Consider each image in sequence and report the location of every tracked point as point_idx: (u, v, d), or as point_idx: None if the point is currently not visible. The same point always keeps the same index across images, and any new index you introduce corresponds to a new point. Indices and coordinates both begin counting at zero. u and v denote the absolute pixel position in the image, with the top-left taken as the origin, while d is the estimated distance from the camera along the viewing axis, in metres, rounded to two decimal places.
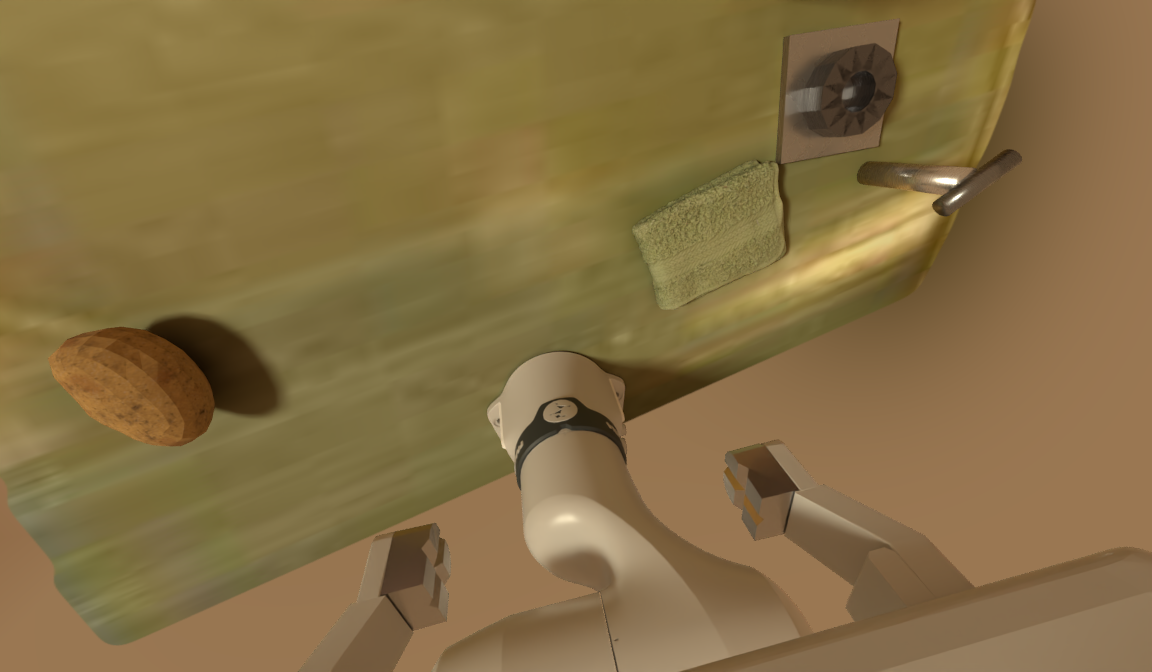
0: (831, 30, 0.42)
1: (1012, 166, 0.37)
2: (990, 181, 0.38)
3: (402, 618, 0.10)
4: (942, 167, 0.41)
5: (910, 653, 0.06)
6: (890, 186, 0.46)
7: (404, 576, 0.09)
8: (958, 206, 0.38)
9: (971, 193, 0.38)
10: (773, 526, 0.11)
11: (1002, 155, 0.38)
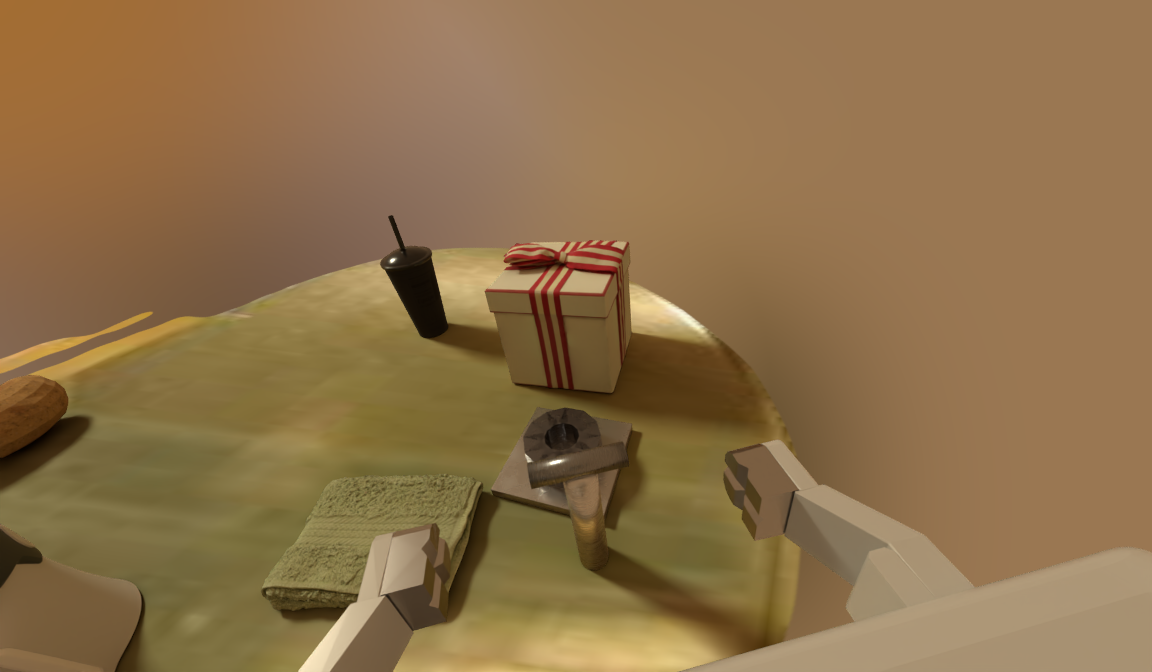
0: None
1: (612, 449, 0.29)
2: (583, 455, 0.29)
3: (402, 618, 0.10)
4: None
5: (910, 653, 0.06)
6: (575, 535, 0.34)
7: (404, 576, 0.09)
8: (538, 468, 0.29)
9: (557, 459, 0.29)
10: (773, 526, 0.11)
11: None
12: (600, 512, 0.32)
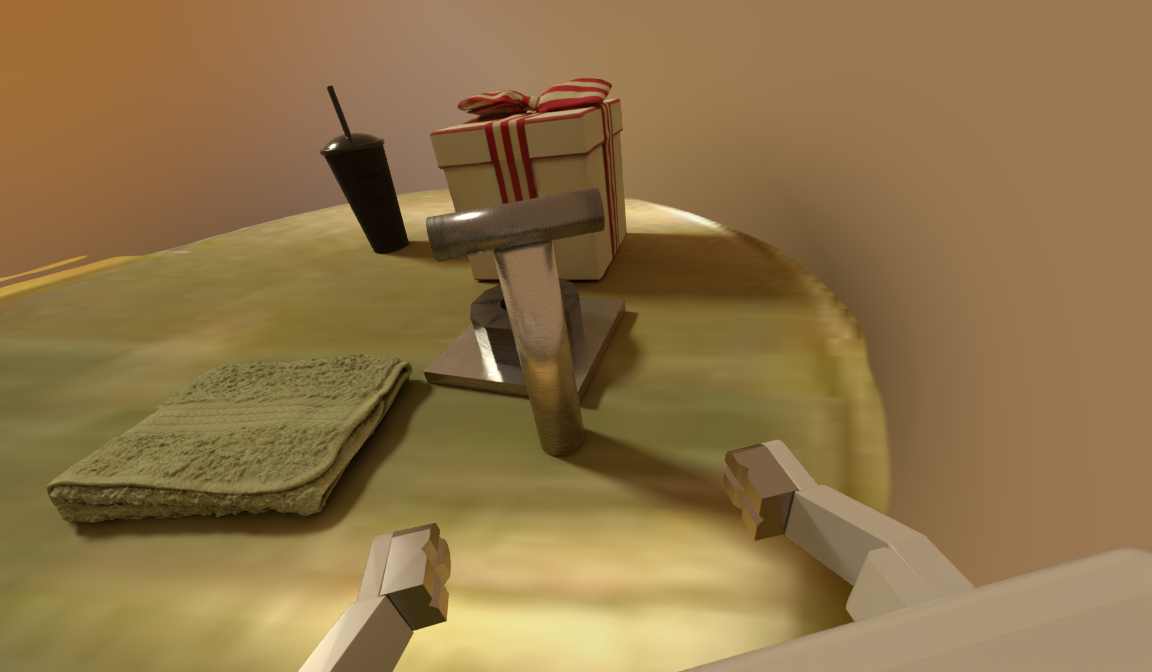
0: None
1: (576, 192, 0.17)
2: (525, 200, 0.17)
3: (402, 617, 0.10)
4: None
5: (910, 653, 0.06)
6: (527, 388, 0.21)
7: (404, 576, 0.09)
8: (446, 217, 0.16)
9: (480, 208, 0.17)
10: (773, 526, 0.11)
11: None
12: (563, 333, 0.20)
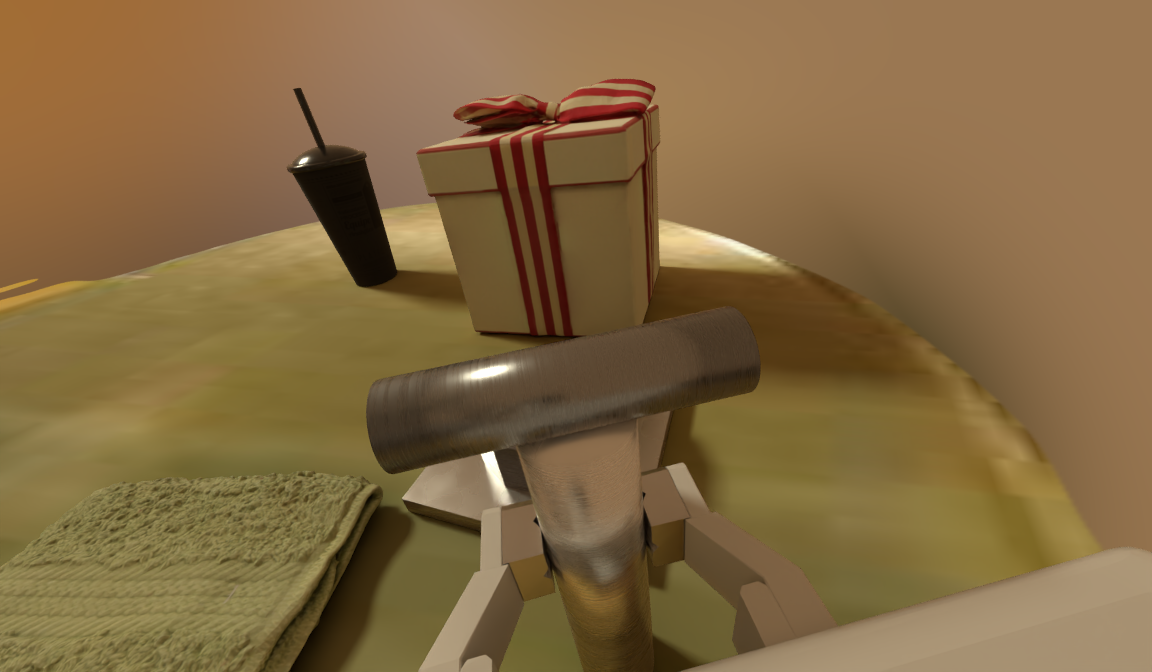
0: None
1: (696, 323, 0.08)
2: (588, 344, 0.08)
3: (517, 588, 0.10)
4: None
5: (910, 653, 0.06)
6: (568, 620, 0.12)
7: (522, 546, 0.10)
8: (412, 391, 0.07)
9: (488, 361, 0.08)
10: (671, 553, 0.10)
11: None
12: (642, 556, 0.10)
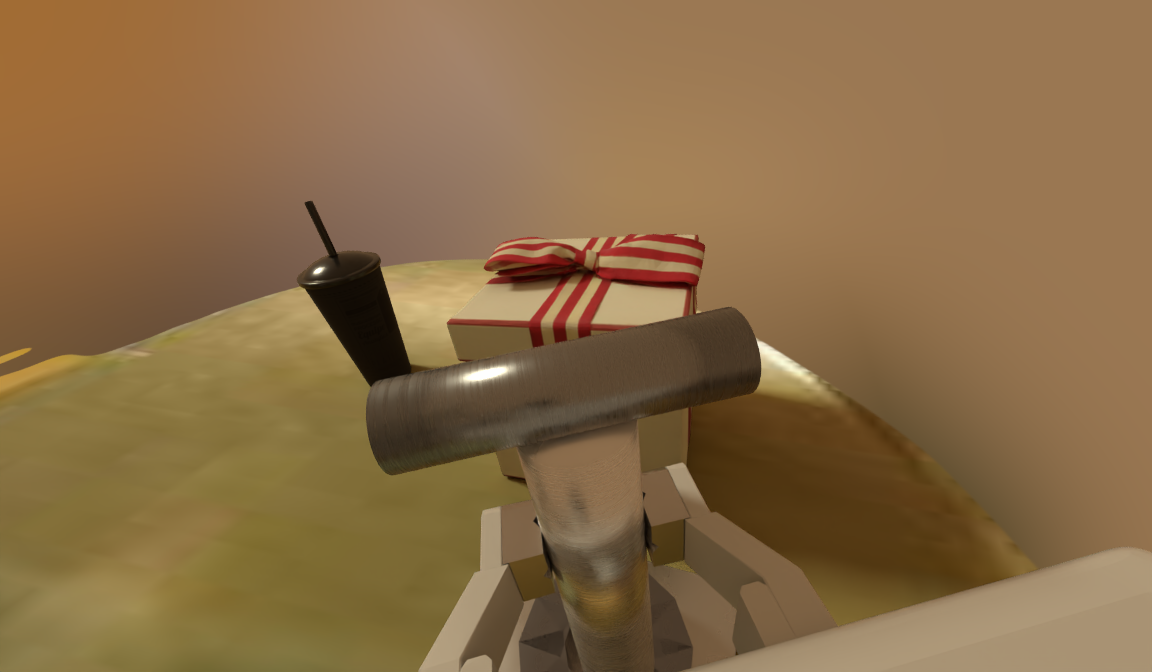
0: None
1: (697, 324, 0.08)
2: (588, 345, 0.08)
3: (517, 588, 0.10)
4: None
5: (910, 653, 0.06)
6: (569, 620, 0.12)
7: (522, 546, 0.10)
8: (412, 392, 0.07)
9: (488, 362, 0.08)
10: (670, 553, 0.10)
11: None
12: (642, 557, 0.10)
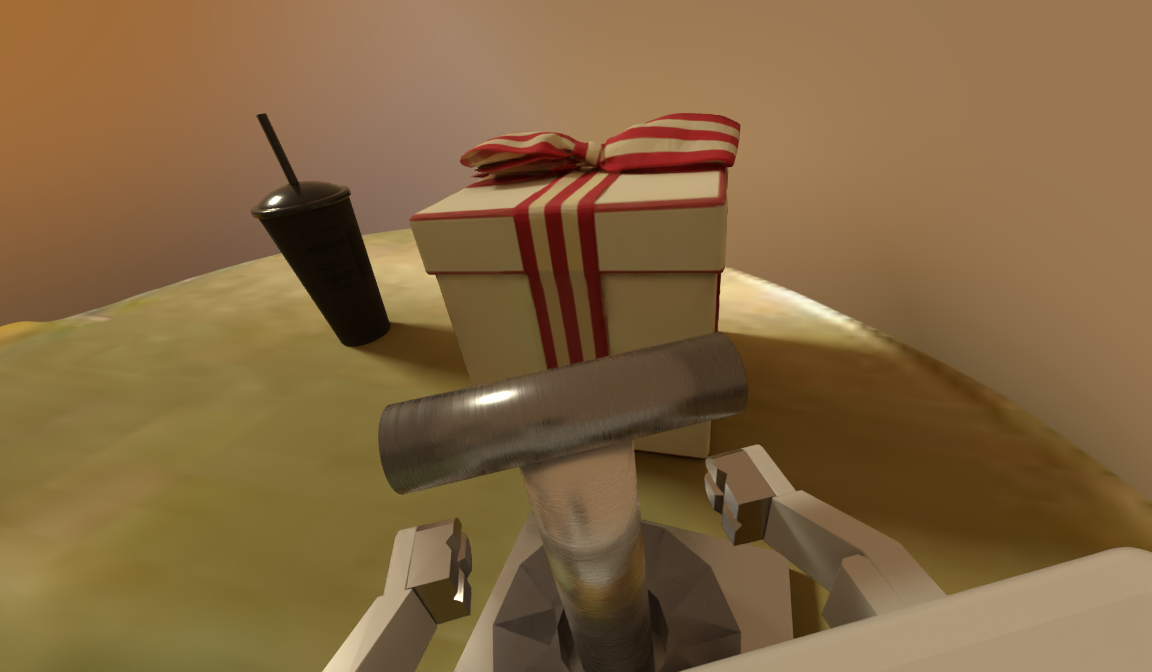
0: None
1: (687, 349, 0.08)
2: (585, 370, 0.08)
3: (427, 611, 0.10)
4: None
5: (910, 653, 0.06)
6: (571, 629, 0.13)
7: (429, 570, 0.09)
8: (421, 417, 0.08)
9: (492, 387, 0.08)
10: (752, 532, 0.11)
11: None
12: (640, 568, 0.11)
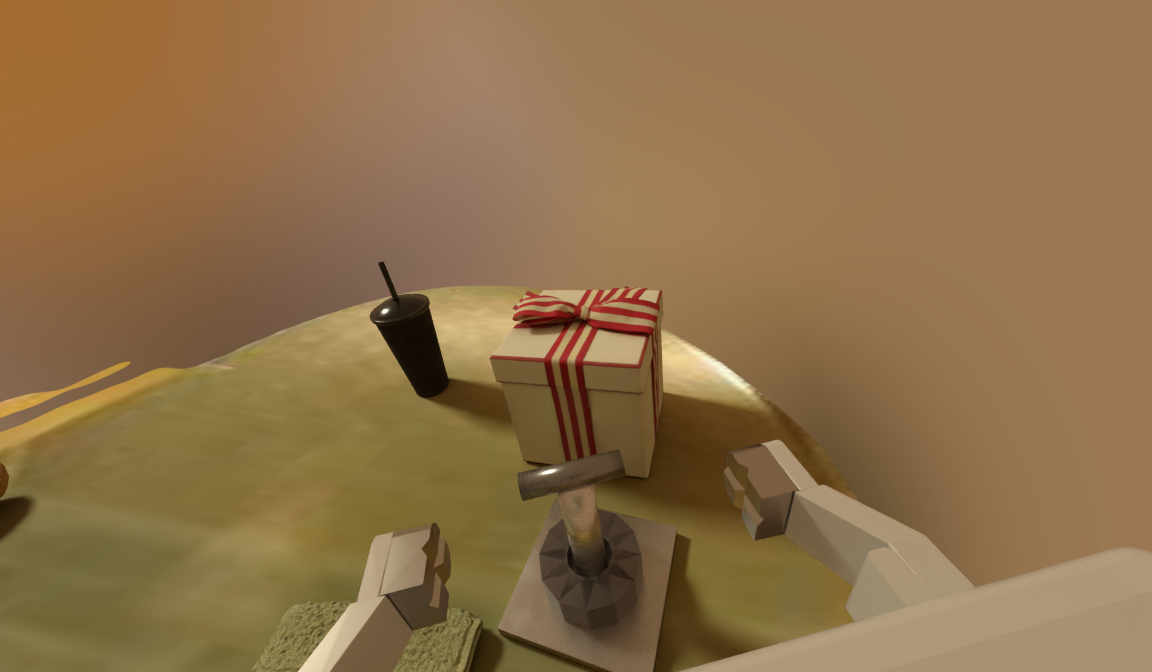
0: None
1: (608, 457, 0.28)
2: (577, 464, 0.28)
3: (402, 618, 0.10)
4: None
5: (910, 653, 0.06)
6: (572, 552, 0.32)
7: (404, 576, 0.09)
8: (529, 478, 0.27)
9: (549, 469, 0.28)
10: (773, 526, 0.11)
11: None
12: (597, 526, 0.30)
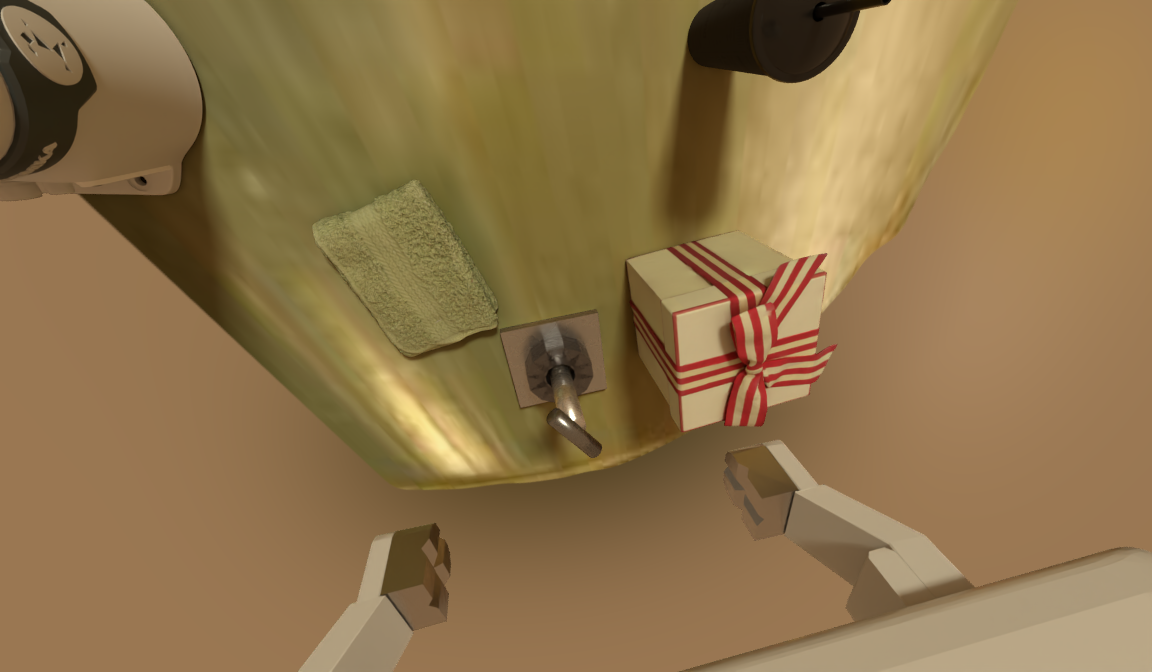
0: (600, 343, 0.53)
1: (591, 452, 0.43)
2: (579, 442, 0.42)
3: (402, 617, 0.10)
4: (580, 407, 0.45)
5: (910, 653, 0.06)
6: (553, 380, 0.49)
7: (404, 576, 0.09)
8: (557, 427, 0.40)
9: (569, 432, 0.41)
10: (773, 526, 0.11)
11: (597, 443, 0.43)
12: None
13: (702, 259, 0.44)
